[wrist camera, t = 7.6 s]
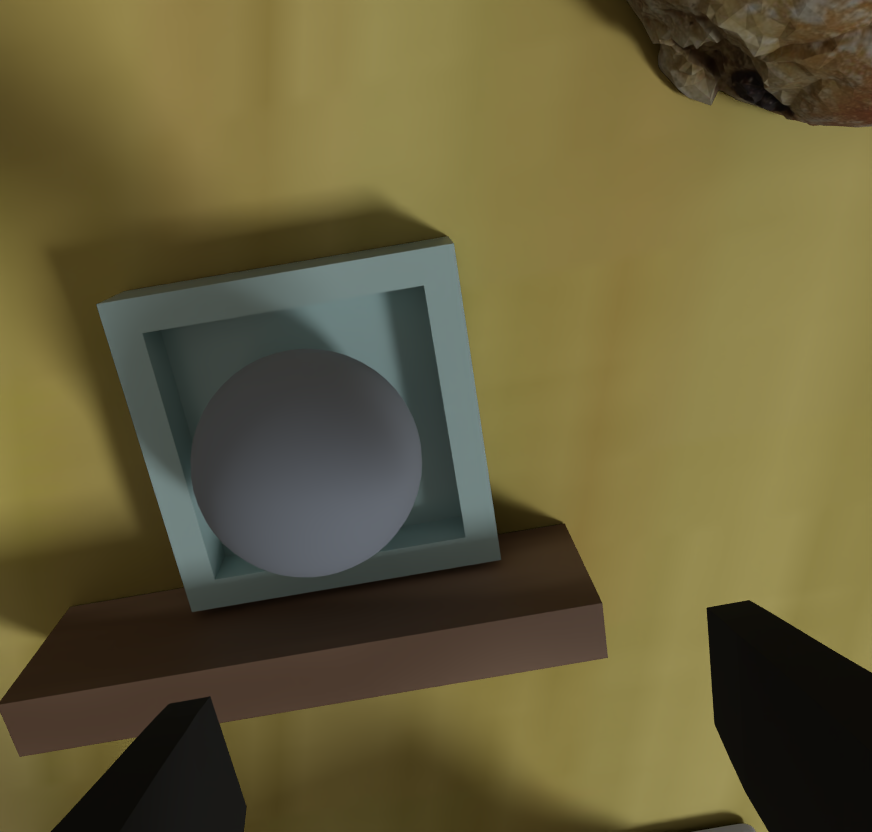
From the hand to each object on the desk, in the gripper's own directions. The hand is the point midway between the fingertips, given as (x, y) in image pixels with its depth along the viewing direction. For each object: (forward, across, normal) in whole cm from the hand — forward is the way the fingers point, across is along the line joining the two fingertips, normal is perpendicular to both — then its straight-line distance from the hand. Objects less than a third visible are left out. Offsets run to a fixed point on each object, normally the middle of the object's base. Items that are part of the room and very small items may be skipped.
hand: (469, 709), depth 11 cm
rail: (+10, +4, +3) cm, 11 cm away
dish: (+10, +3, -2) cm, 10 cm away
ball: (+9, +3, -2) cm, 10 cm away
